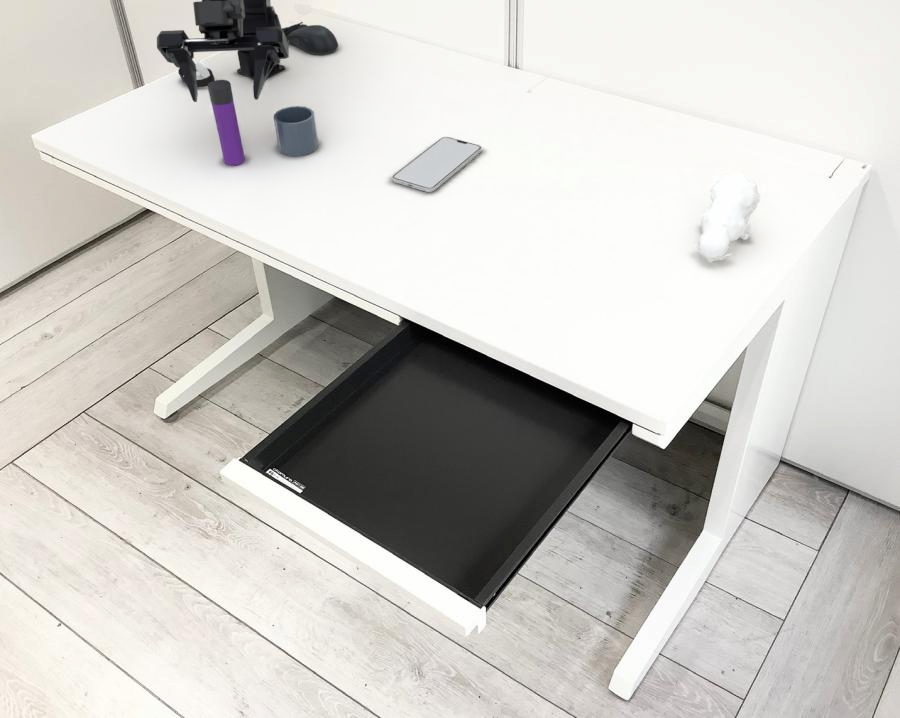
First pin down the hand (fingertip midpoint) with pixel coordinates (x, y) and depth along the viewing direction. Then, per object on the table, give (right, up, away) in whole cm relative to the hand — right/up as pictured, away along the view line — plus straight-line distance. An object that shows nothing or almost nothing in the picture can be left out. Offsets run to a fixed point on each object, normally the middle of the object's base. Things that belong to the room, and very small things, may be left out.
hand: (225, 99), depth 134 cm
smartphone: (+32, -10, +2) cm, 33 cm away
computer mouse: (+6, +22, +40) cm, 46 cm away
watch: (-12, +11, +28) cm, 32 cm away
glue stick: (0, -8, +5) cm, 9 cm away
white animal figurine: (+69, -24, -17) cm, 75 cm away
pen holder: (+10, -5, +7) cm, 13 cm away
